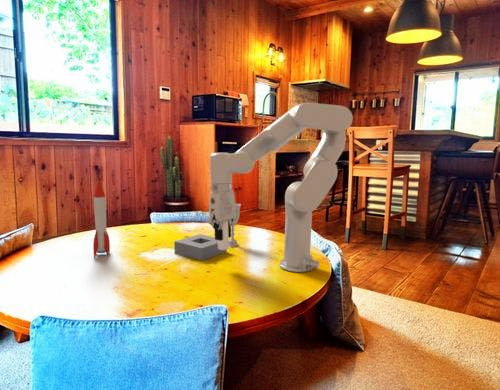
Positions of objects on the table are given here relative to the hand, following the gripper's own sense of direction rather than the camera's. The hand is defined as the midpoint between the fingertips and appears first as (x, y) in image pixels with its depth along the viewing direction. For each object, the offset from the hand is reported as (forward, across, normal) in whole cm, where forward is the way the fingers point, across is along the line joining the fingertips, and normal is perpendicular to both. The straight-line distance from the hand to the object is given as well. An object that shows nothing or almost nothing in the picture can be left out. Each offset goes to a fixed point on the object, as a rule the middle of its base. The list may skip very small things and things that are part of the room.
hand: (223, 237), depth 133 cm
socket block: (+11, +8, +19) cm, 23 cm away
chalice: (+12, +25, +16) cm, 32 cm away
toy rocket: (+10, -19, +47) cm, 52 cm away
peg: (+4, 0, 0) cm, 4 cm away
